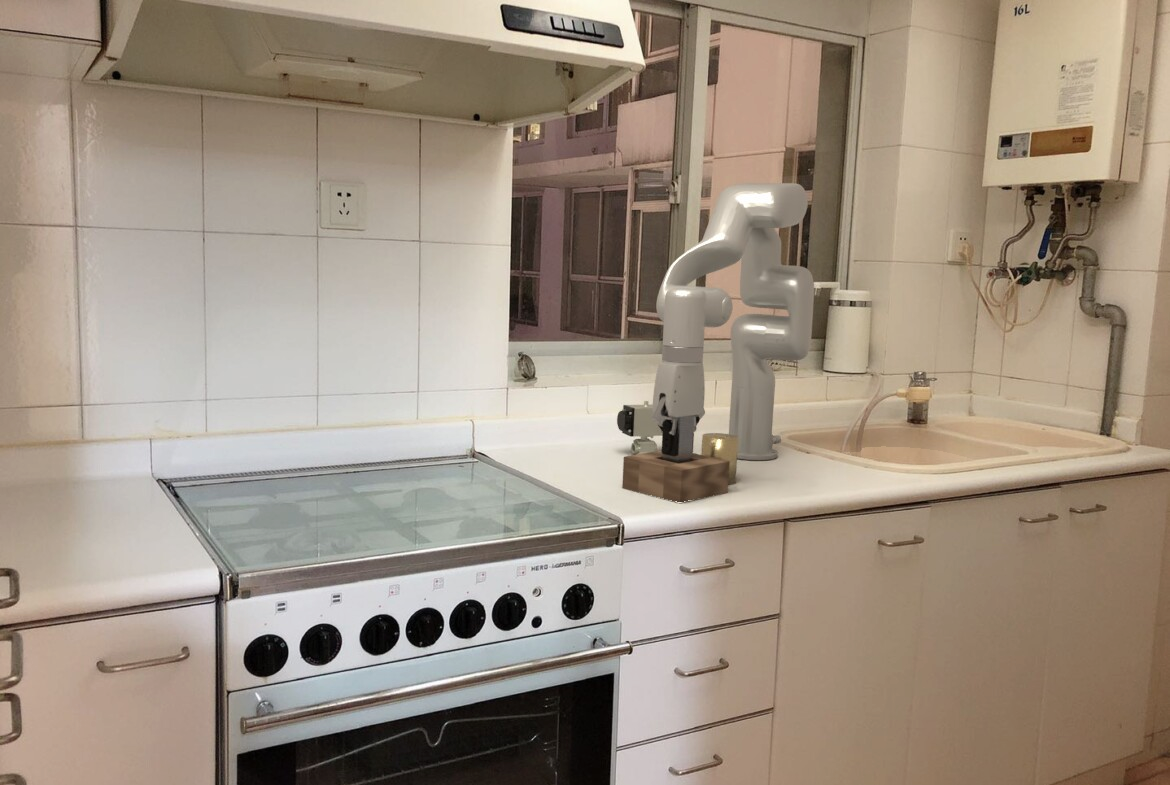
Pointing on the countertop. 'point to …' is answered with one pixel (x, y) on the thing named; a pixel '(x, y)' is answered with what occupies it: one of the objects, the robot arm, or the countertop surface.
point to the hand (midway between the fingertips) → (677, 452)
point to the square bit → (683, 440)
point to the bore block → (675, 476)
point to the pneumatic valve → (639, 426)
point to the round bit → (722, 450)
